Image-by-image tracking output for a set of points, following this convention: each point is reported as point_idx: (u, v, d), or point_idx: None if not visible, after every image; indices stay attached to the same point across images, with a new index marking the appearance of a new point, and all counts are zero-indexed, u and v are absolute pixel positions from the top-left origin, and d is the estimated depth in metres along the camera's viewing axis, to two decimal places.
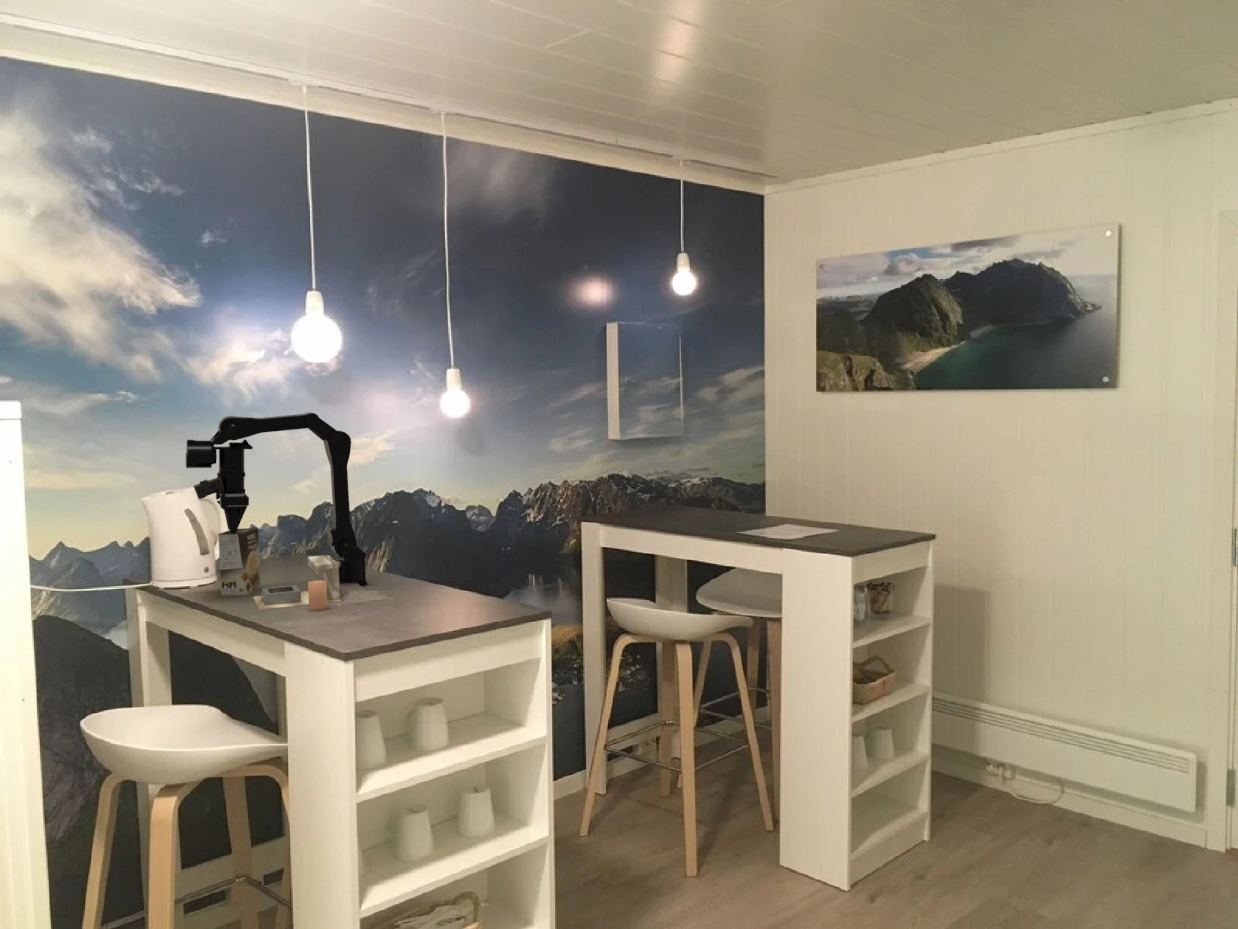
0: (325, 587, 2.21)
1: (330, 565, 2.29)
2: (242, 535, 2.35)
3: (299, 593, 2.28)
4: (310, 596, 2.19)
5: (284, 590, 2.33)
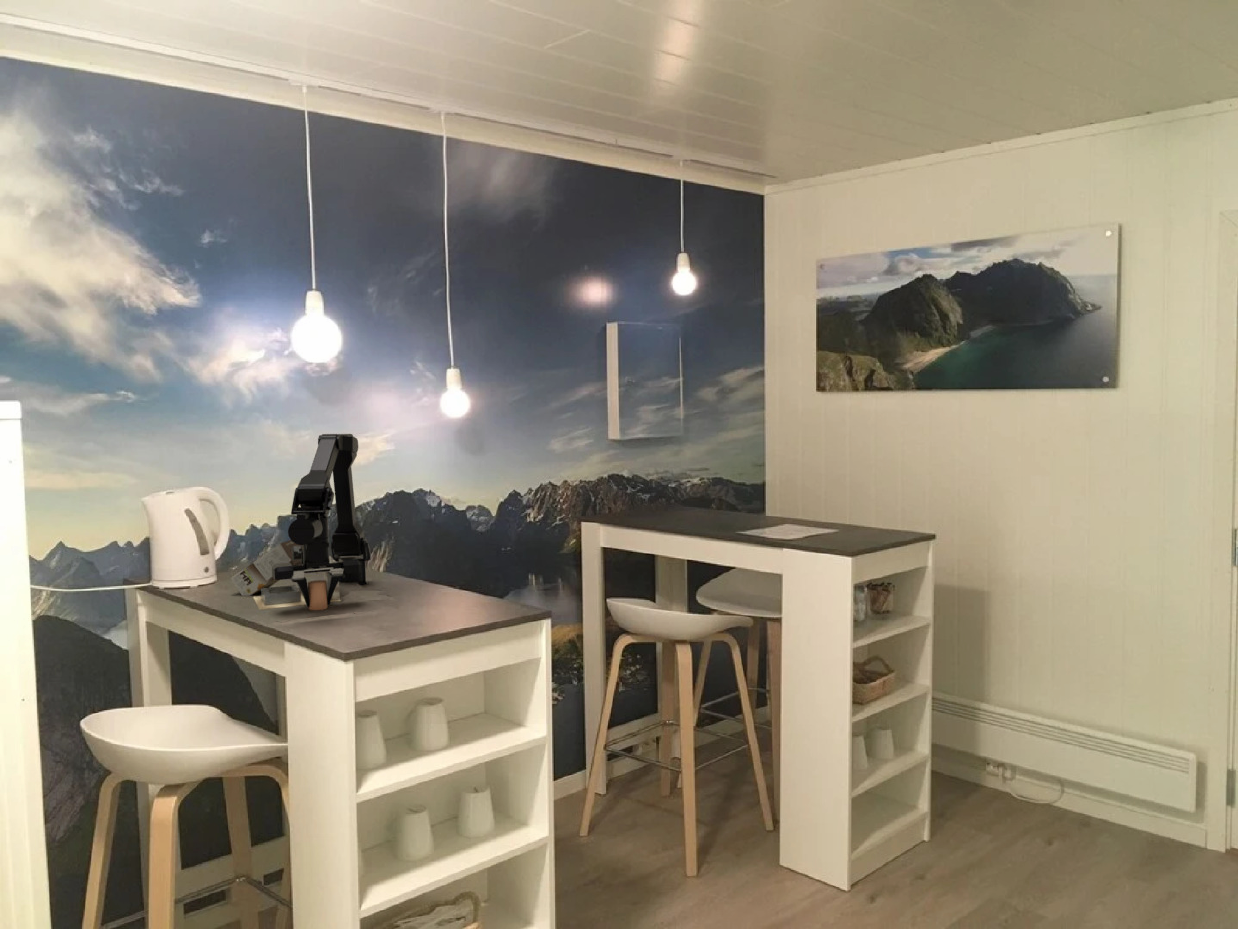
0: (325, 587, 2.21)
1: None
2: (292, 565, 2.33)
3: (299, 593, 2.28)
4: (310, 596, 2.19)
5: (284, 590, 2.33)
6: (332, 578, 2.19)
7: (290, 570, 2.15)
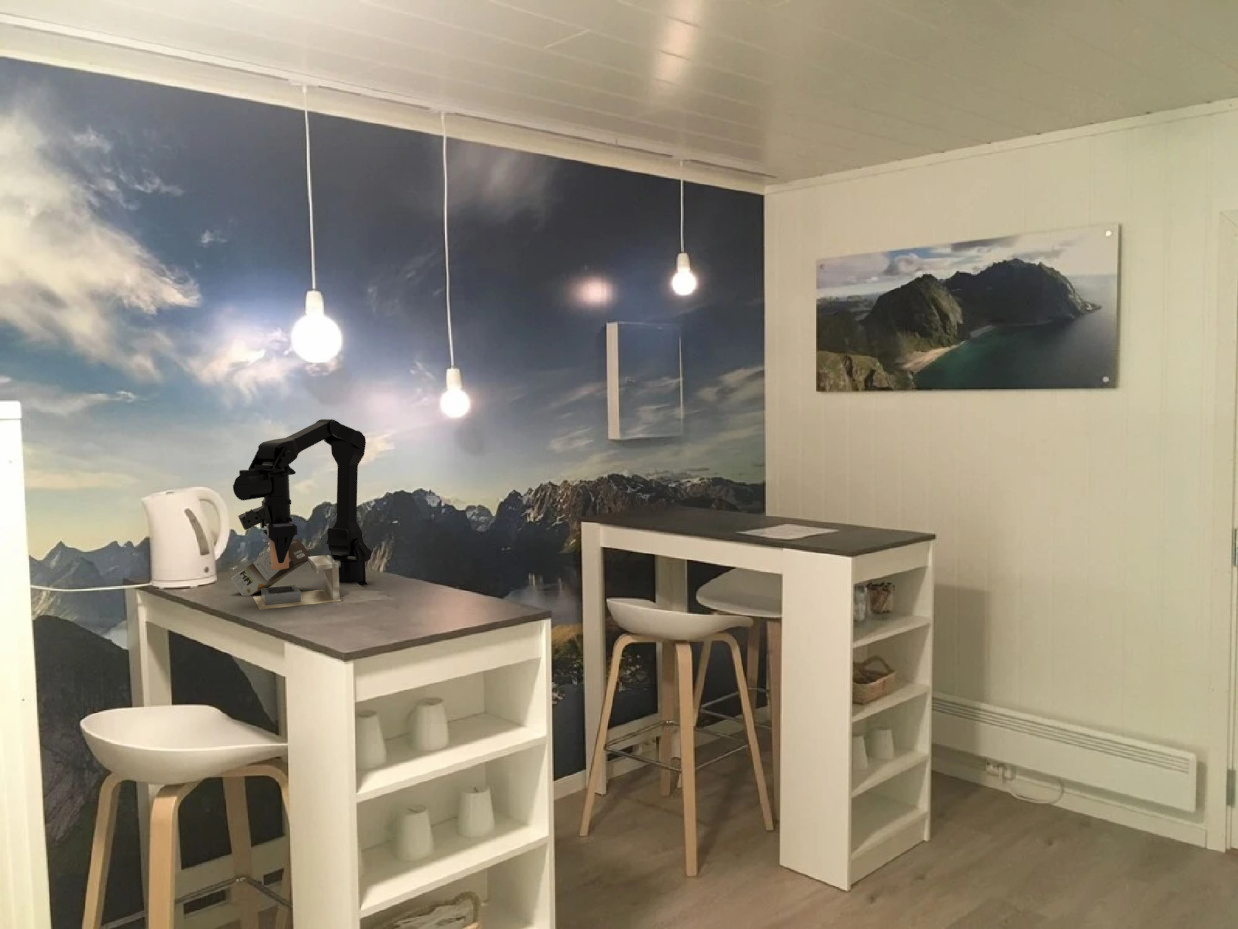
0: None
1: (330, 565, 2.29)
2: (292, 565, 2.33)
3: (299, 593, 2.28)
4: None
5: (284, 590, 2.33)
6: None
7: None
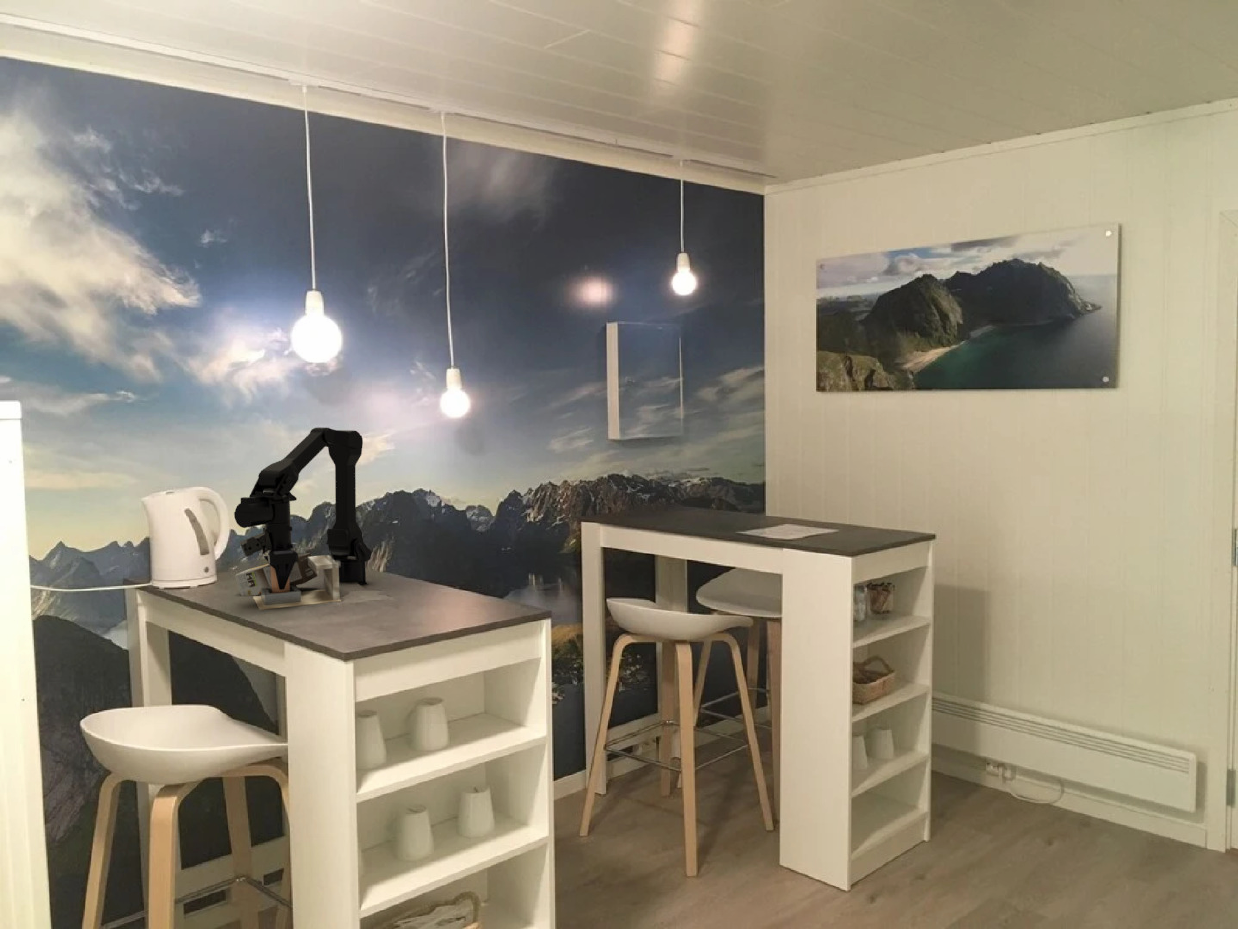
0: None
1: (330, 565, 2.29)
2: (302, 582, 2.35)
3: (299, 593, 2.28)
4: None
5: None
6: None
7: None
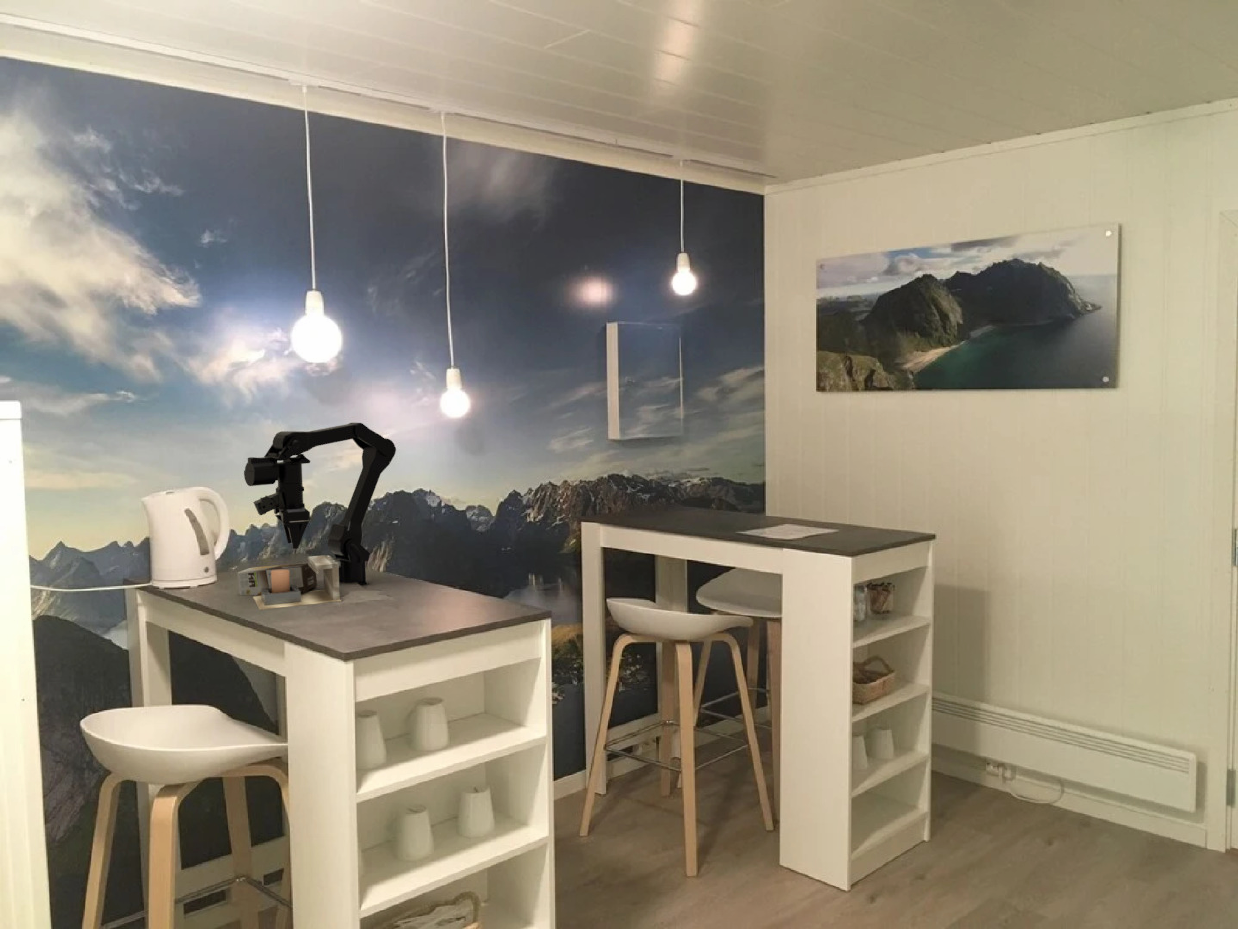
0: None
1: (330, 565, 2.29)
2: (302, 591, 2.36)
3: (299, 593, 2.28)
4: (285, 584, 2.28)
5: None
6: None
7: None
